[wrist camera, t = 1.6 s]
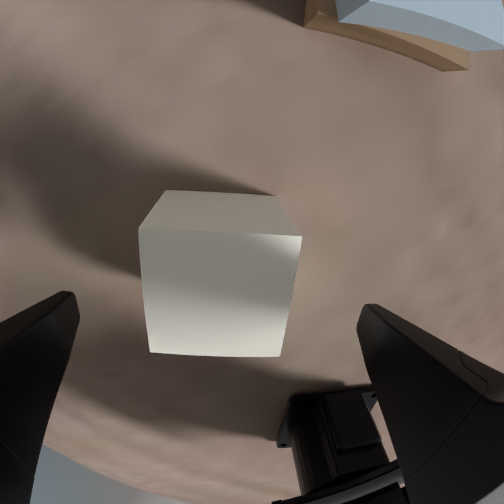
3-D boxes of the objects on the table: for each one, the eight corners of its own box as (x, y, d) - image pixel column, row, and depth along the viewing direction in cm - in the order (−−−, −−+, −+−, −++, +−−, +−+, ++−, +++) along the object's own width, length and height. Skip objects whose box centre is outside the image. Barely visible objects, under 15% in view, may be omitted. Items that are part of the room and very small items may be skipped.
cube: (264, 289, 14) (279, 356, 10) (167, 285, 14) (150, 352, 10) (275, 195, 13) (302, 236, 8) (166, 189, 12) (138, 227, 8)
